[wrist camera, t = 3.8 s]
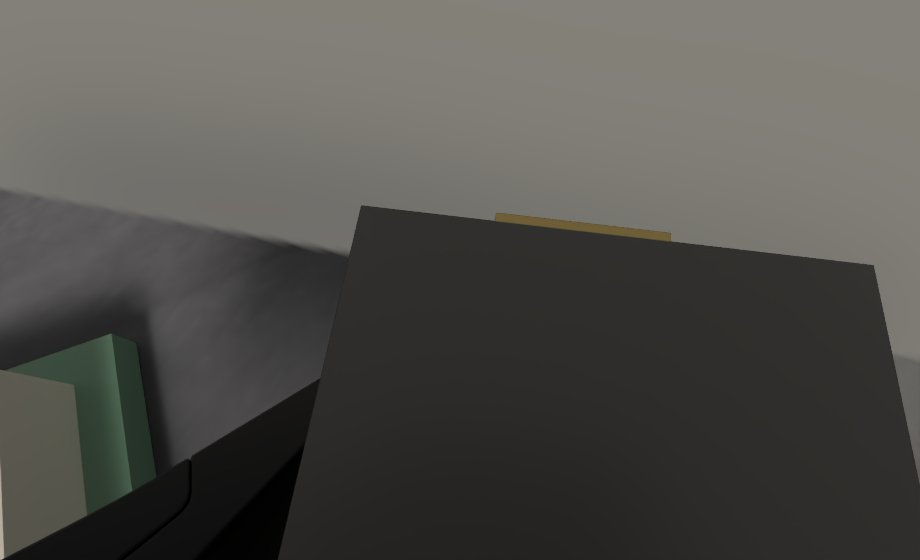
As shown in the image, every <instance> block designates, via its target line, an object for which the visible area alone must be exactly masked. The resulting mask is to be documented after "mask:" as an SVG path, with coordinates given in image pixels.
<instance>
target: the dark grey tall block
mask: <svg viewBox="0 0 920 560" xmlns="http://www.w3.org/2000/svg"><path fill="white" fill-rule="evenodd" d="M278 560H920V484H919V479H918V475H917V470H916V465H915V460H914V455H913V451H912V446H911V441H910V436H909V432H908V427H907V422H906V417H905V413H904V408H903V403H902V398H901V393H900V389H899V384H898V379H897V374H896V370H895V365H894V360H893V355H892V351H891V346H890V341H889V336H888V331H887V327H886V322H885V317H884V312H883V308H882V303H881V299H880V293H879V289H878V284H877V279H876V274H875V270H874V265H867V264H859V263H850V262H841V261H833V260H824V259H816V258H807V257H799V256H790V255H782V254H773V253H764V252H756V251H747V250H739V249H730V248H722V247H713V246H704V245H695V244H687V243H679V242H671V233H667V232H658V231H650V230H641V229H632V228H624V227H615V226H607V225H598V224H589V223H581V222H571V221H563V220H554V219H546V218H537V217H529V216H520V215H512V214H503V213H496V216H495V221H490V220H482V219H473V218H464V217H456V216H447V215H439V214H430V213H422V212H413V211H405V210H395V209H387V208H379V207H369V206H361V209H360V213H359V218H358V221H357V226H356V230H355V234H354V238H353V243H352V247H351V251H350V255H349V260H348V264H347V268H346V272H345V277H344V281H343V285H342V289H341V293H340V298H339V302H338V306H337V310H336V315H335V319H334V323H333V327H332V332H331V336H330V340H329V344H328V349H327V353H326V357H325V361H324V366H323V370H322V374H321V378H320V383H319V387H318V391H317V395H316V400H315V404H314V408H313V412H312V417H311V421H310V425H309V429H308V434H307V438H306V442H305V446H304V451H303V455H302V459H301V463H300V468H299V472H298V476H297V480H296V485H295V489H294V493H293V497H292V502H291V506H290V510H289V514H288V519H287V523H286V527H285V531H284V535H283V540H282V544H281V548H280V552H279V557H278Z"/></svg>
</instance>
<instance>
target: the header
mask: <svg viewBox="0 0 920 560" xmlns="http://www.w3.org/2000/svg"><path fill="white" fill-rule="evenodd" d="M155 477H156V471H155V464H154V457H153V451H152V444H151V437H150V431H149V424H148V418H147V411H146V404H145V398H144V391H143V384H142V378H141V371H140V364H139V358H138V351H137V345H136V343H135V342H133V341H130V340H127V339H125V338H122V337H119V336H117V335H114V334H108V335H105V336H103V337H100V338H97V339H94V340H91V341H88V342H85V343H82V344H79V345H77V346H74V347H71V348H68V349H65V350H62V351H59V352H56V353H53V354H51V355H48V356H45V357H42V358H39V359H36V360H33V361H30V362H27V363H25V364H22V365H19V366H16V367H13V368H10V369H7V370H4V371H3V370H0V560H2V559H4V558H5V557H7V556H9V555H11V554H13V553H15V552H17V551H19V550H21V549H23V548H25V547H27V546H29V545H31V544H33V543H35V542H37V541H39V540H40V539H42V538H44V537H46V536H48V535H50V534H52V533H54V532H56V531H58V530H60V529H62V528H64V527H66V526H68V525H70V524H72V523H73V522H75V521H77V520H79V519H81V518H83V517H85V516H87V515H89V514H90V513H92V512H94V511H96V510H98V509H100V508H102V507H104V506H105V505H107V504H109V503H111V502H113V501H115V500H117V499H119V498H120V497H122V496H124V495H126V494H128V493H129V492H131V491H133V490H134V489H136V488H138V487H140V486H141V485H143V484H145V483H147V482H148V481H150V480H152V479H154V478H155Z"/></svg>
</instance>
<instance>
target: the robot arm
mask: <svg viewBox="0 0 920 560" xmlns="http://www.w3.org/2000/svg"><path fill="white" fill-rule="evenodd" d="M319 383H320V379H318V380H316V381H315V382H313V383H311V384H310V385H308V386H306V387H305V388H303V389H302V390H300V391H298V392H297V393H295V394H293V395H292V396H290V397H288V398H287V399H285V400H283V401H282V402H280V403H278V404H277V405H275V406H273V407H272V408H270V409H268V410H267V411H265V412H263V413H262V414H260V415H259V416H257V417H255V418H254V419H252V420H250V421H249V422H247V423H245V424H244V425H242V426H240V427H239V428H237V429H235V430H234V431H232V432H230V433H229V434H227V435H225V436H224V437H222V438H220V439H219V440H217V441H215V442H214V443H212V444H211V445H209V446H207V447H206V448H204V449H202V450H201V451H199V452H197V453H196V454H194V455H192V457H191V461H190V460H189V459H185V460H184V461H182V462H180V463H179V464H177V465H175V466H174V467H172V468H170V469H169V470H167V471H165V472H164V473H162V474H160V475H159V476H157V477H155V478H154V479H152V480H150V481H148V482H147V483H145V484H143V485H141V486H140V487H138V488H136V489H134V490H133V491H131V492H129V493H128V494H126V495H124V496H122V497H120V498H119V499H117V500H115V501H113V502H111V503H109V504H107V505H105V506H104V507H102V508H100V509H98V510H96V511H94V512H92V513H90V514H89V515H87V516H85V517H83V518H81V519H79V520H77V521H75V522H73V523H72V524H70V525H68V526H66V527H64V528H62V529H60V530H58V531H56V532H54V533H52V534H50V535H48V536H46V537H44V538H42V539H40V540H39V541H37V542H35V543H33V544H31V545H29V546H27V547H25V548H23V549H21V550H19V551H17V552H15V553H13V554H11V555H9V556H7V557H5V558H4V559H2V560H278V557H279V552H280V548H281V544H282V540H283V535H284V531H285V527H286V523H287V519H288V514H289V510H290V506H291V502H292V497H293V493H294V489H295V485H296V480H297V476H298V472H299V468H300V463H301V459H302V455H303V451H304V446H305V442H306V438H307V434H308V429H309V425H310V421H311V417H312V412H313V408H314V404H315V400H316V395H317V391H318V387H319Z"/></svg>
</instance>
